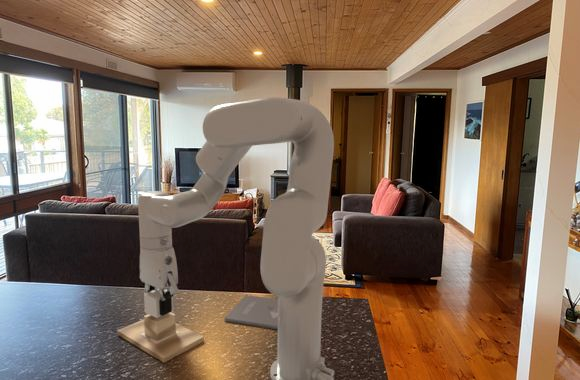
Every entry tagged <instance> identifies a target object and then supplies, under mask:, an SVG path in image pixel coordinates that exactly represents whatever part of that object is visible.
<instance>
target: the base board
mask: <svg viewBox="0 0 580 380" xmlns="http://www.w3.org/2000/svg"><path fill="white" fill-rule="evenodd" d="M116 331H117V332H116V333H117V336H119V337H121V338H122V339H124V340H125V341H127V342H128V343H131V344H132V345H134V346H135V347H137V348H139V349H140V350H142V351H144V352H145V353H147V354H149V355H150V356H152V357H154V358H155V359H157V360H158V359H159V360H158V361H160V362H161V363H163V364H164V363H167V362H168V361H170V360H172V359H174V358H176V357H177V356H179V355H181V354H183V353H185V352H186V351H188V350H190V349H192V348H194V347H196V346H198V345H200V344H201V343H203V342H205V337H204V336H203V335H201V334H199V333H197V332H195V331H193V330H190V328H187V327H185V326H183V325H181V324H178V323H176V333H174V334H172V335H170V336H167V337H165V338H163V339H161V340H159V341H156V340H154V339H153V338H151V337H149V336H147V335H145V330H144V318H143V319H141V320H139V321H136V322H134V323H132V324H129V325H127V326H124V327H122V328H120V329H117V330H116ZM175 356H176V357H175ZM173 357H174V358H173Z"/></svg>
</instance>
